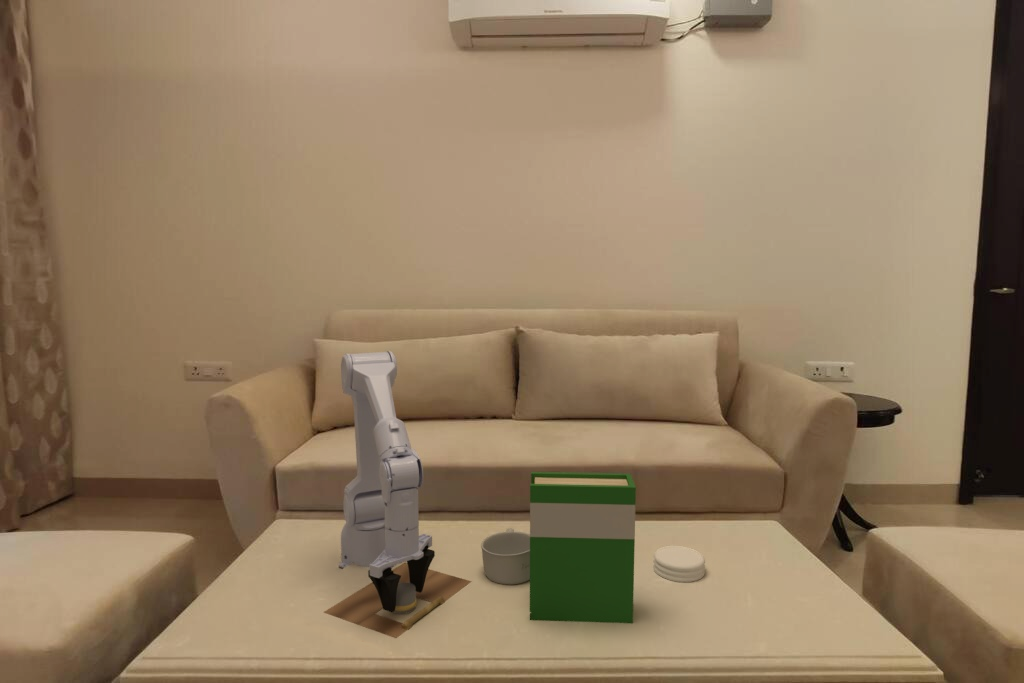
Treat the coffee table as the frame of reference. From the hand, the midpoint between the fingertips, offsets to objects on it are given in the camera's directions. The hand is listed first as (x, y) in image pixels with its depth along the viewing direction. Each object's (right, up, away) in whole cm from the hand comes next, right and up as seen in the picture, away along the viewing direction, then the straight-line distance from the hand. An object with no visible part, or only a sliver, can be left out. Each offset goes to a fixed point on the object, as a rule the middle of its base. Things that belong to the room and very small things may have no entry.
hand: (403, 600), depth 114 cm
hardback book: (+31, -3, +2) cm, 31 cm away
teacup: (+19, -2, +15) cm, 24 cm away
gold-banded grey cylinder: (0, -3, +1) cm, 3 cm away
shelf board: (-1, -2, +4) cm, 5 cm away
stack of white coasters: (+53, -1, +18) cm, 55 cm away
